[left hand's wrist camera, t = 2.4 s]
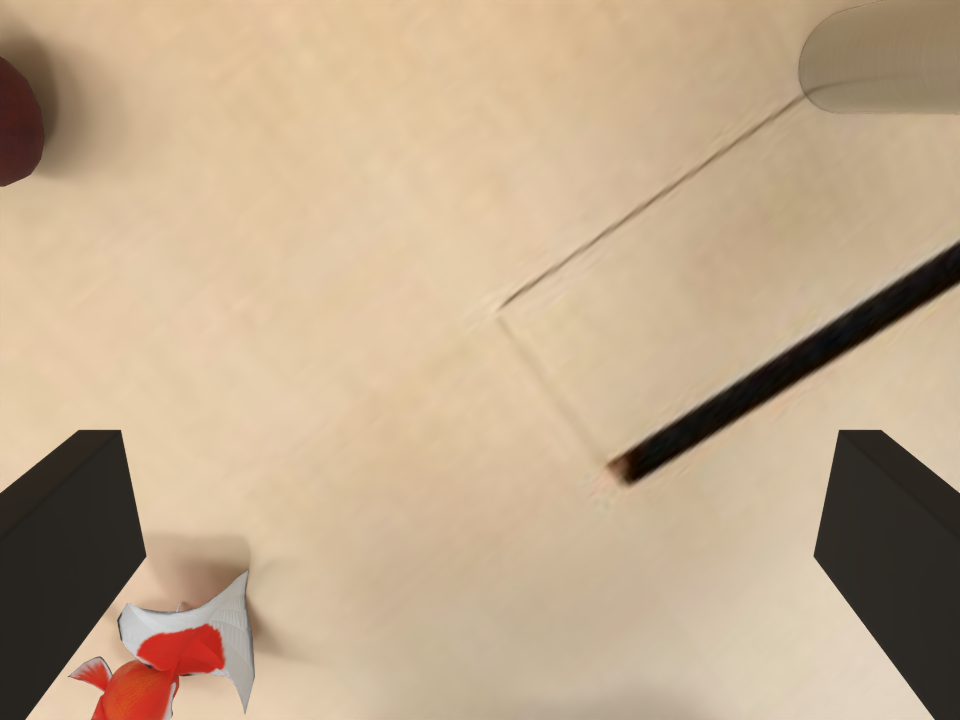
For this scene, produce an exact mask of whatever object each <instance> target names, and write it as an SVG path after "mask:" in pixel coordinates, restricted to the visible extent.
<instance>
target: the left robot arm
mask: <svg viewBox="0 0 960 720" xmlns="http://www.w3.org/2000/svg"><path fill="white" fill-rule="evenodd" d="M145 558H146V551H145V546H144V542H143V537H142V532H141V527H140V522H139V517H138V512H137V507H136V502H135V497H134V492H133V487H132V482H131V478H130V473H129V468H128V463H127V458H126V453H125V448H124V443H123V438H122V433H121V430H78V431H77V432H76V433H74V434H73V435H72V436H71V437H70V438H68V439H67V440H66V441H65V442H63V443H62V444H61V445H60V446H58V447H57V448H56V449H55V450H53V451H52V452H51V453H50V454H48V455H47V456H46V457H45V458H43V459H42V460H41V461H40V462H38V463H37V464H36V465H35V466H34V467H32V468H31V469H30V470H29V471H27V472H26V473H25V474H24V475H22V476H21V477H20V478H19V479H17V480H16V481H15V482H14V483H12V484H11V485H10V486H9V487H7V488H6V489H5V490H4V491H2V492H1V493H0V720H25V719H26V718H27V717H28V715H29V714H30V713H31V711H32V710H33V709H34V707H35V706H36V705H37V703H38V702H39V700H40V699H41V698H42V696H43V695H44V694H45V692H46V691H47V690H48V688H49V687H50V686H51V684H52V683H53V682H54V680H55V679H56V678H57V676H58V675H59V674H60V672H61V671H62V669H63V668H64V667H65V665H66V664H67V663H68V661H69V660H70V659H71V657H72V656H73V655H74V653H75V652H76V651H77V649H78V648H79V647H80V645H81V644H82V643H83V641H84V640H85V639H86V637H87V636H88V634H89V633H90V632H91V630H92V629H93V628H94V626H95V625H96V624H97V622H98V621H99V620H100V618H101V617H102V616H103V614H104V613H105V612H106V610H107V609H108V608H109V606H110V605H111V603H112V602H113V601H114V599H115V598H116V597H117V595H118V594H119V593H120V591H121V590H122V589H123V587H124V586H125V585H126V583H127V582H128V581H129V579H130V578H131V577H132V575H133V574H134V572H135V571H136V570H137V568H138V567H139V566H140V564H141V563H142V562H143V560H144V559H145ZM814 558H815V559H816V560H817V562H818V563H819V564H820V566H821V567H822V568H823V570H824V571H825V572H826V574H827V575H828V577H829V578H830V579H831V581H832V582H833V583H834V585H835V586H836V587H837V589H838V590H839V591H840V593H841V594H842V595H843V597H844V598H845V599H846V601H847V602H848V603H849V605H850V606H851V608H852V609H853V610H854V612H855V613H856V614H857V616H858V617H859V618H860V620H861V621H862V622H863V624H864V625H865V626H866V628H867V629H868V630H869V632H870V633H871V634H872V636H873V637H874V639H875V640H876V641H877V643H878V644H879V645H880V647H881V648H882V649H883V651H884V652H885V653H886V655H887V656H888V657H889V659H890V660H891V661H892V663H893V664H894V665H895V667H896V668H897V670H898V671H899V672H900V674H901V675H902V676H903V678H904V679H905V680H906V682H907V683H908V684H909V686H910V687H911V688H912V690H913V691H914V692H915V694H916V695H917V696H918V698H919V699H920V700H921V702H922V703H923V705H924V706H925V707H926V709H927V710H928V711H929V713H930V714H931V715H932V717H933V718H934V719H935V720H960V493H959V492H958V491H956V490H955V489H954V488H953V487H951V486H950V485H949V484H948V483H946V482H945V481H944V480H943V479H941V478H940V477H939V476H938V475H936V474H935V473H934V472H933V471H931V470H930V469H929V468H928V467H926V466H925V465H924V464H923V463H922V462H920V461H919V460H918V459H917V458H915V457H914V456H913V455H912V454H910V453H909V452H908V451H907V450H905V449H904V448H903V447H902V446H900V445H899V444H898V443H897V442H895V441H894V440H893V439H892V438H890V437H889V436H888V435H887V434H886V433H884V432H883V431H882V430H839V433H838V438H837V443H836V448H835V453H834V458H833V463H832V468H831V473H830V478H829V482H828V487H827V492H826V497H825V502H824V507H823V512H822V517H821V522H820V527H819V532H818V537H817V542H816V546H815V551H814Z"/></svg>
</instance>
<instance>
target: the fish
mask: <svg viewBox="0 0 960 720" xmlns="http://www.w3.org/2000/svg"><path fill="white" fill-rule="evenodd" d="M248 572H249V570H247V571H245V572H244V573H242V574H241V575H240V576H239V577H237V578H236V579H235V580H234V581H233V582H232V583H231V584H230V585H229V586H228V587H227V588H226V589H225V590H224V591H222V592H221V593H220V594H218V595H217V596H215V597H214V598H213V599H211V600H210V601H208V602H207V603H205V604H204V605H202V606H201V607H199V608H197V609H192V610H187V611H183V612H179V607H180V604H179V605H178V607H177V610H176V612H159V611H153V610H147V609H141V608H138V607H136V606H134V605H132V604H130V603H127V605H126V606H125V608H124V610H123V611H122V613H121V615H120V616H119V618H118V620H117V622H118V627H119V632H120V637H121V641H122V642H123V644H124V645H125V646H126V648H127V649H128V650H129V651H130V652H131V653H132V654H133V655H134V656H135V657H136V658H135V660H134V661H130V662H128V663H126V664H124V665H123V666H121V667H120V668H119V669H118V670H117V671H116V672H115V673H114V674H113V675H112V673H111V671H110V668H109V667H108V665H107V663H106V662H105V661H104V659H103V658H102V657H96V658H93V659H91V660H89V661H87V662H85V663H83V664H82V665H81V666H80V667H79V668H78V669H77V670H75V671H74V672H73V673H72V674H71V675H70V676H68V677H72V678H74V679H77V680H82V681H85V682H87V683H89V684H92V685H94V686H96V687H97V688H99V689H101V690H102V691H104V692H105V693H104V694H103V695H102V696H101V697H100V699H99V701H98V704H97V707H96V709H95V712H94V714H93V716H92V719H91V720H170V719H171V717H172V715H173V712H172V700H173V699H174V697H175V695H176V693H177V690H178V688H179V677H178V675H179V676H190V675H199V674H212V675H217V676H226V677H228V678H229V679H230V680H231V681H232V682H233V684H234V685H235V687H236V689H237V691H238V693H239V696H240V698H241V701H242V704H243V708H244V713H246V709H247V705H248V701H249V697H250V693H251V689H252V685H253V681H254V678H255V670H254V654H253V638H252V633H251V627H250V622H249V617H248V611H247V605H246V599H245V590H246V585H247V577H248Z"/></svg>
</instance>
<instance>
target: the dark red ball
mask: <svg viewBox="0 0 960 720" xmlns="http://www.w3.org/2000/svg"><path fill="white" fill-rule="evenodd" d="M43 144H44V130H43V124H42V117H41V111H40V107H39V105H38V103H37V100H36V98H35V96H34V94H33V92H32V90H31V88H30V86H29V84H28V82H27V80H26V79H25V78H24V77H23V76H22V75H21V74H20V73H19V72H18V71H17V70H16V69H15V68H14V67H13V66H12V65H11V64H10V63H9V62H7V61H6V60H4V59H3V58H2V57H0V187H2V186H7V185H9V184H11V183H14V182H16V181H18V180H21V179H23V178H25V177H27V176H29V175H31V173H32V172H33V170H34V169H35V167H36V166H37V164H38V163H39V161H40V160H41V156H42V150H43Z"/></svg>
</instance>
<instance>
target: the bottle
mask: <svg viewBox="0 0 960 720" xmlns="http://www.w3.org/2000/svg"><path fill="white" fill-rule="evenodd" d="M799 78H800V83H801V86H802V89H803V91H804V93H805V95H806V96H807V98H808V99H809V100H810V101H811V102H812V103H813V104H814V105H815V106H817V107H819V108H820V109H822V110H825V111H828V112H834V113H878V114H938V115H960V0H882V1H878V2H874V3H871V4H867V5H863V6H859V7H855V8H852V9H848V10H844V11H841V12H838V13H836V14H834V15H832V16H830V17H829V18H827V19H826V20H824V21H823V22H822V23H821V24H820V25H819V26H818V27H817V28H816V29H815V30H814V31H813V32H812V34H811V35H810V36H809V38H808V40H807V41H806V43H805V46H804V48H803V51H802V53H801V57H800V62H799Z"/></svg>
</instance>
